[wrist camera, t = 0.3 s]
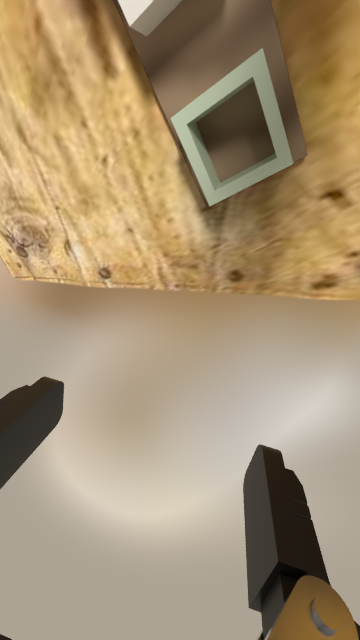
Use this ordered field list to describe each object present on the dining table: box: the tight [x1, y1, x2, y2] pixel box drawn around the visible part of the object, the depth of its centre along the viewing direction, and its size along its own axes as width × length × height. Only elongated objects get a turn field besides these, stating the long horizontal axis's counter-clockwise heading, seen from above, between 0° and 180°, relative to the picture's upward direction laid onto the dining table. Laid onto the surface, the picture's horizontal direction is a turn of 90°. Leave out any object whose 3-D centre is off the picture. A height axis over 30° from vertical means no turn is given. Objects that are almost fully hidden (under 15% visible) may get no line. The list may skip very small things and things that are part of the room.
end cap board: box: [114, 0, 308, 207], centre depth 24 cm, size 26×12×1 cm, turn 30°
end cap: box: [170, 48, 294, 206], centre depth 26 cm, size 9×9×4 cm
